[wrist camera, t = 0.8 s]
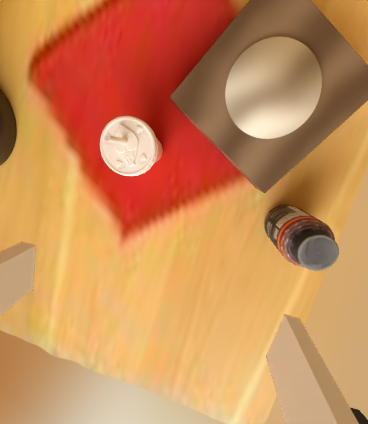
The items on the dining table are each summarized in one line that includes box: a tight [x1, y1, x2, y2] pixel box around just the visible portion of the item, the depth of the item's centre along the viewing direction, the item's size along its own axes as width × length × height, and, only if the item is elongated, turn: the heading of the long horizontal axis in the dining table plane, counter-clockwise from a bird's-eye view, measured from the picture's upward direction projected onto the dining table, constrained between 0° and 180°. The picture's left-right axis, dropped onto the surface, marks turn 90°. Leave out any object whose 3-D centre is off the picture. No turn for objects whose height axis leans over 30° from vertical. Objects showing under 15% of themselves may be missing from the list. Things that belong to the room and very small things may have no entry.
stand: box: [170, 0, 368, 193], centre depth 27 cm, size 16×16×6 cm
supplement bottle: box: [265, 205, 339, 271], centre depth 28 cm, size 6×6×11 cm
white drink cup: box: [100, 116, 163, 176], centre depth 27 cm, size 6×6×14 cm
